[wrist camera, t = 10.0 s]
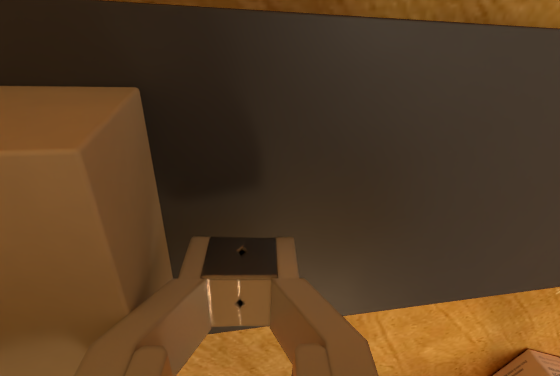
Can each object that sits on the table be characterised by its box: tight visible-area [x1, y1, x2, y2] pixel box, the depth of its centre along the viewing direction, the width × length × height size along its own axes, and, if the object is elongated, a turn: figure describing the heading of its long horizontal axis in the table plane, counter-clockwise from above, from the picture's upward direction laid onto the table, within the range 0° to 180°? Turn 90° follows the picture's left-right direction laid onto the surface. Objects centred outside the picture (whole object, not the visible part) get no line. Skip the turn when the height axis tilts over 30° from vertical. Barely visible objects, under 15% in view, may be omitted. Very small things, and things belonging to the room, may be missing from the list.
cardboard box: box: [0, 86, 173, 376], centre depth 7 cm, size 9×7×4 cm
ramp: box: [0, 0, 560, 334], centre depth 12 cm, size 35×12×6 cm, turn 87°
